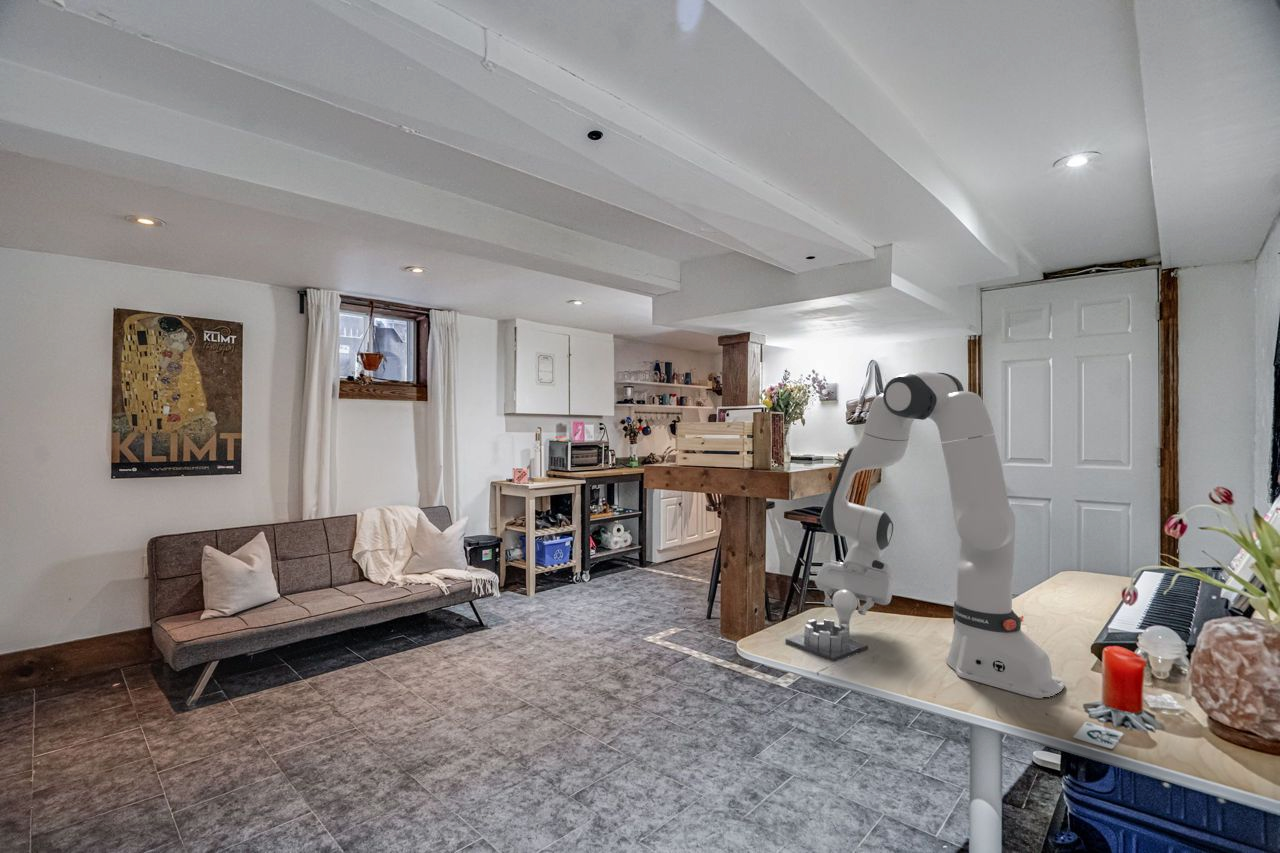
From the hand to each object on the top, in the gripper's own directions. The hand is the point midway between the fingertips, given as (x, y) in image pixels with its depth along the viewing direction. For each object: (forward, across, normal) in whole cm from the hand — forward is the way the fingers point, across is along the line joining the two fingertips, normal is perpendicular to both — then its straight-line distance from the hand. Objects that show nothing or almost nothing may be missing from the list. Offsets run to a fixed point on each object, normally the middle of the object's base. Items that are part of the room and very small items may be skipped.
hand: (843, 609), depth 158 cm
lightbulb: (+4, 0, +5) cm, 6 cm away
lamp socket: (+13, +2, -5) cm, 14 cm away
